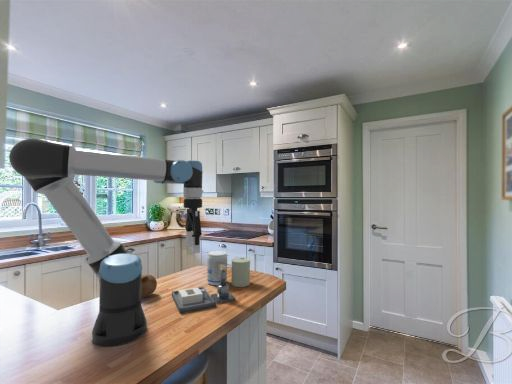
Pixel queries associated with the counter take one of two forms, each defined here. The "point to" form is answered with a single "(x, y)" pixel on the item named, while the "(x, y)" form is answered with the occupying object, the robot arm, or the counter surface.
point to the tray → (206, 303)
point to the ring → (191, 295)
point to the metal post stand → (223, 288)
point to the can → (240, 272)
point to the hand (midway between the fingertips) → (192, 249)
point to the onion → (148, 285)
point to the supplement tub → (215, 266)
